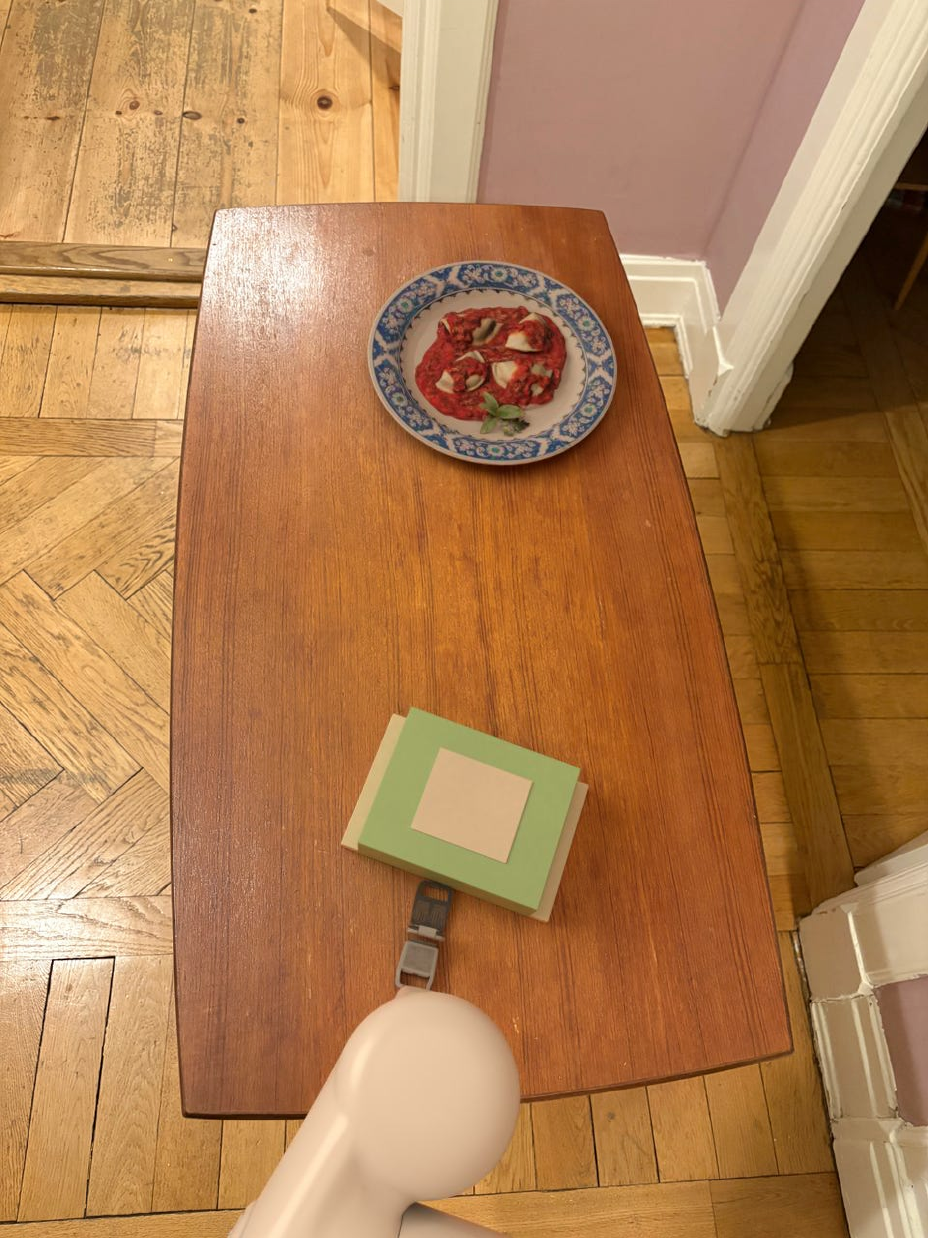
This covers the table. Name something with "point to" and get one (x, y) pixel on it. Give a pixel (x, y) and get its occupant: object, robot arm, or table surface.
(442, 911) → the strap clip
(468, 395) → the ceramic plate
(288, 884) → the table surface
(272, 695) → the table surface
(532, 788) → the green block with label
